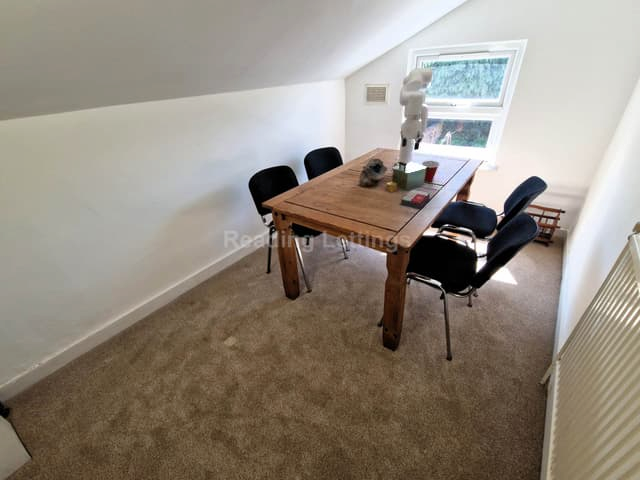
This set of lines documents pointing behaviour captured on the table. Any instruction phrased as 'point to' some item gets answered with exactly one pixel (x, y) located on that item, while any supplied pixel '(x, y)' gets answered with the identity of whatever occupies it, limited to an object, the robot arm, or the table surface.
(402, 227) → the table surface
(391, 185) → the block
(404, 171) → the bin lid
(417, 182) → the bin
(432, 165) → the plastic cup
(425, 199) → the calculator
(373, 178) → the hollow geode rock
